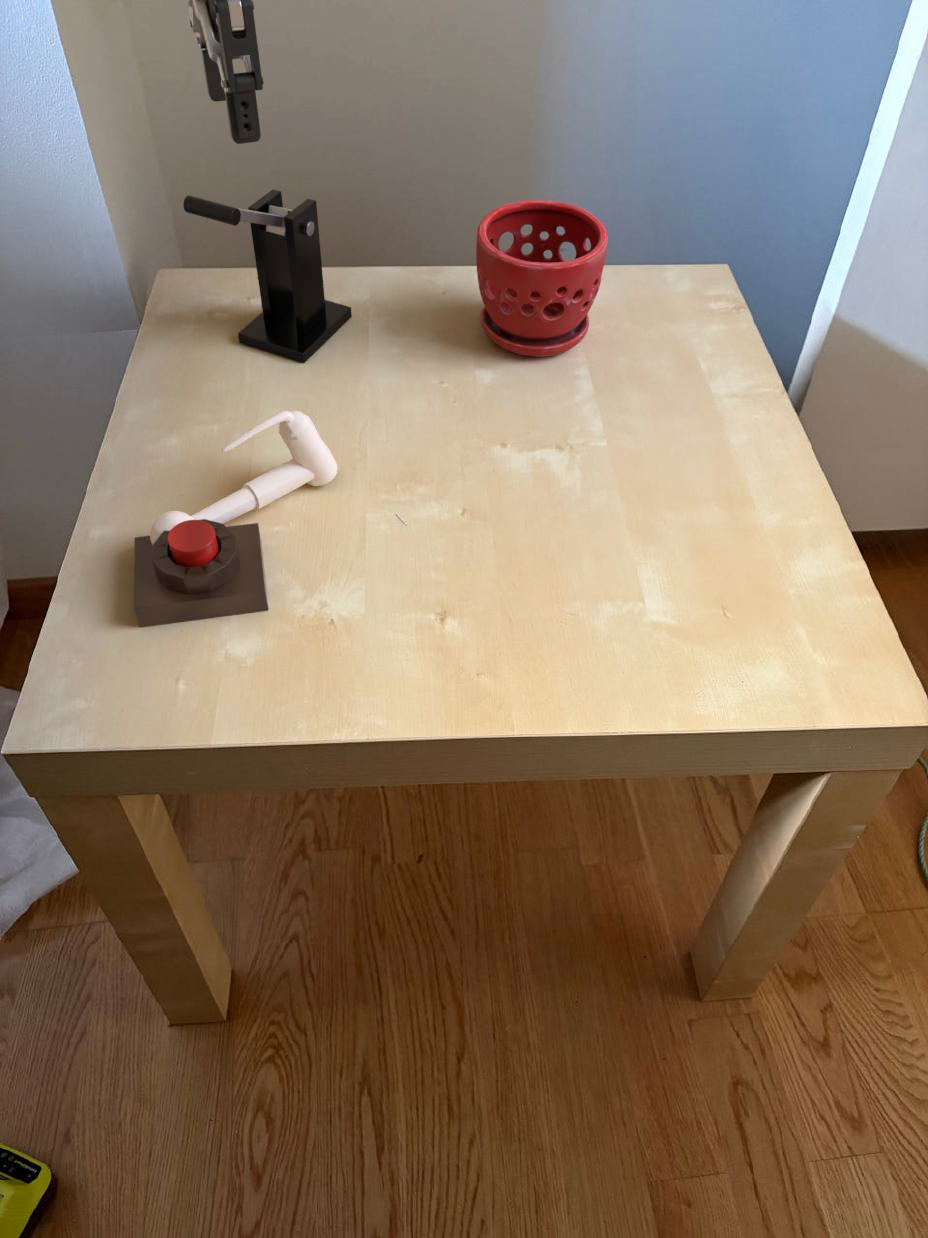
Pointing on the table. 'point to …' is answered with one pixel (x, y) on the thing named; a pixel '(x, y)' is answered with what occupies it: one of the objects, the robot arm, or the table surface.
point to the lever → (237, 214)
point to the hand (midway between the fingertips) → (234, 119)
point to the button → (193, 543)
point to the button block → (200, 578)
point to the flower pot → (539, 276)
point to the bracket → (291, 286)
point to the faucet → (305, 467)
